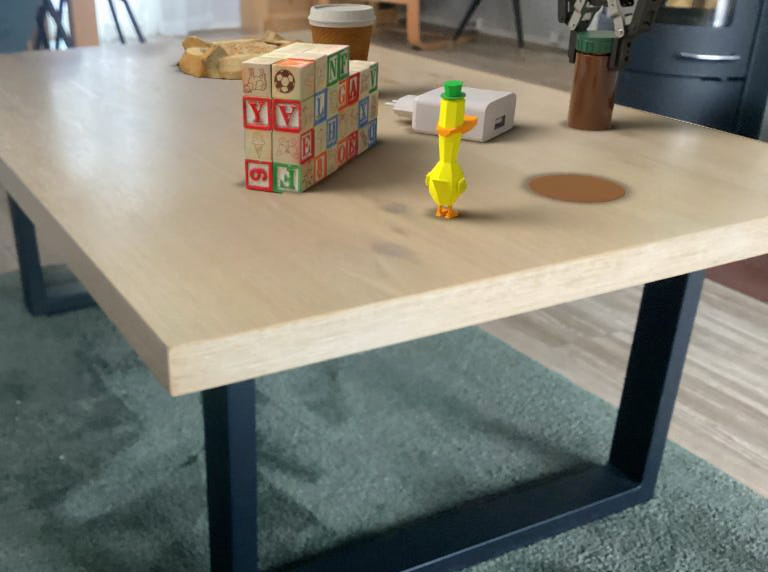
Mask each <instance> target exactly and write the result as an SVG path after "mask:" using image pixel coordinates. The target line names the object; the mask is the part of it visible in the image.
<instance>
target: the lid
mask: <svg viewBox="0 0 768 572" xmlns="http://www.w3.org/2000/svg"><path fill="white" fill-rule="evenodd" d="M615 37H617V36H616V34H615V30H605V29H594V30H593V29H592V30H591V29H590V30H589V31H581V32H578V33H577V37H576V41H575V49H576V50H579V51H583V52H590V53H611V51H612V45H613V39H614V38H615Z"/></svg>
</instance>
